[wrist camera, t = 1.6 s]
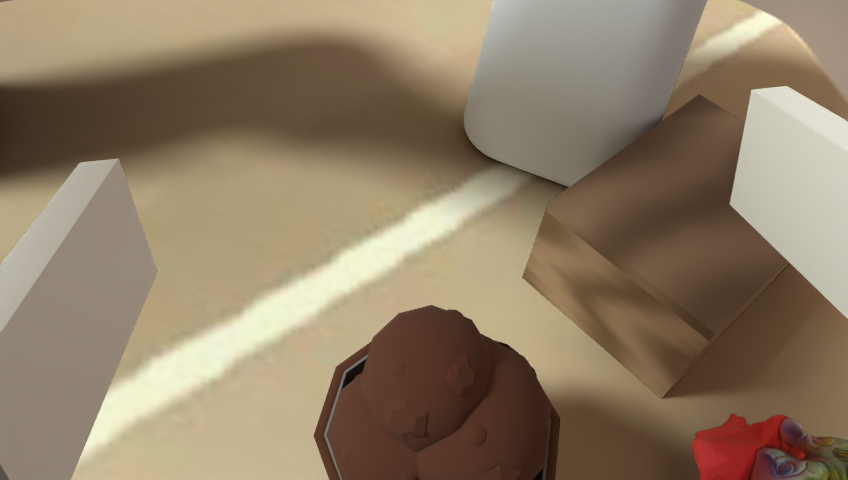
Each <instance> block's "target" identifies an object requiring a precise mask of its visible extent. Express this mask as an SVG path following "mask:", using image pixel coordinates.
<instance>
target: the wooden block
mask: <svg viewBox="0 0 848 480" xmlns="http://www.w3.org/2000/svg"><path fill="white" fill-rule="evenodd" d="M744 126H745V123H744V122H742V121H741V120H739V119H738V118H736V117H734V116H733V115H731V114H730V113H728V112H726V111H725V110H723V109H722V108H720V107H718V106H717V105H715V104H714V103H712V102H710V101H709V100H707V99H706V98H704V97H702V96H701V95H698V96H697V97H695V98H694V99H692V100H691V101H690V102H688V103H687V104H685V105H684V106H683V107H681V108H680V109H678V110H677V111H676V112H674V113H673V114H671V115H670V116H669V117H667V118H666V119H664V120H663V121H662V122H660V123H659V124H657V125H656V126H655V127H653V128H652V129H650V130H649V131H648V132H646V133H645V134H643V135H642V136H641V137H639V138H638V139H636V140H635V141H633V142H632V143H631V144H629V145H628V146H626V147H625V148H624V149H622V150H621V151H619V152H618V153H617V154H615V155H614V156H612V157H611V158H610V159H608V160H607V161H605V162H604V163H603V164H601V165H600V166H598V167H597V168H596V169H594V170H593V171H591V172H590V173H589V174H587V175H586V176H584V177H583V178H582V179H580V180H579V181H577V182H576V183H575V184H573V185H572V186H570V187H569V188H568V189H566V190H565V191H563V192H562V193H561V194H559V195H558V196H556V197H555V198H554V199H552V200H551V201H549V202H548V205H547V208H546V211H545V214H544V216H543V219H542V222H541V225H540V228H539V231H538V234H537V237H536V239H535V242H534V245H533V248H532V251H531V254H530V257H529V259H528V262H527V265H526V268H525V271H524V274H523V277H522V278H524V279H525V280H526V281H527V282H528V283H529V284H530V285H532V286H533V287H534V288H535V289H536V290H537V291H539V292H540V293H541V294H542V295H543V296H544V297H545V298H547V299H548V300H549V301H550V302H551V303H552V304H553V305H555V306H556V307H557V308H558V309H559V310H560V311H561V312H563V313H564V314H565V315H566V316H567V317H568V318H570V319H571V320H572V321H573V322H574V323H575V324H576V325H578V326H579V327H580V328H581V329H582V330H583V331H584V332H586V333H587V334H588V335H589V336H590V337H591V338H593V339H594V340H595V341H596V342H597V343H598V344H599V345H601V346H602V347H603V348H604V349H605V350H606V351H607V352H609V353H610V354H611V355H612V356H613V357H614V358H615V359H617V360H618V361H619V362H620V363H621V364H622V365H624V366H625V367H626V368H627V369H628V370H629V371H630V372H632V373H633V374H634V375H635V376H636V377H637V378H638V379H640V380H641V381H642V382H643V383H644V384H645V385H647V386H648V387H649V388H650V389H651V390H652V391H653V392H655V393H656V394H657V395H658V396H659V397H660V398H661V399H662V398H663V396H664V395H665V394H666V393H667V392H668V391H669V390H670V389H671V388H672V387H673V386H674V385H675V384H676V383H677V382H678V381H679V380H680V379H681V378H682V376H683V375H684V374H685V373H686V372H687V371H688V370H689V369H690V368H691V367H692V366H693V365H694V364H695V363H696V362H697V361H698V360H699V359H700V358H701V356H702V355H703V354H704V353H705V352H706V351H707V350H708V349H709V348H710V347H711V346H712V345H713V344H714V343H715V342H716V341H717V340H718V339H719V337H720V336H721V335H722V334H723V333H724V332H725V331H726V330H727V329H728V328H729V327H730V326H731V325H732V324H733V323H734V322H735V321H736V320H737V319H738V317H739V316H740V315H741V314H742V313H743V312H744V311H745V310H746V309H747V308H748V307H749V306H750V305H751V304H752V303H753V302H754V301H755V300H756V299H757V297H758V296H759V295H760V294H761V293H762V292H763V291H764V290H765V289H766V288H767V287H768V286H769V285H770V284H771V283H772V282H773V281H774V280H775V279H776V277H777V276H778V275H779V274H780V273H781V272H782V271H783V270H784V269H785V268H786V267H787V266H788V265H789V264H790V263H789V262H788V261H787V260H786V259H785V258H784V257H783V256H782V255H781V254H780V253H779V252H778V251H777V250H776V249H775V248H774V247H773V246H772V245H771V244H770V243H769V242H768V241H767V240H766V239H765V238H764V237H763V236H762V235H761V234H760V233H759V232H758V231H757V230H756V229H754V228H753V227H752V226H751V225H750V224H749V223H748V222H747V221H746V220H745V219H744V218H743V217H742V216H741V215H740V214H739V213H738V212H737V211H736V210H735V209H734V208H733V207H732V206H731V205H730V199H731V194H732V189H733V184H734V179H735V173H736V168H737V163H738V158H739V153H740V147H741V142H742V137H743V132H744Z"/></svg>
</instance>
